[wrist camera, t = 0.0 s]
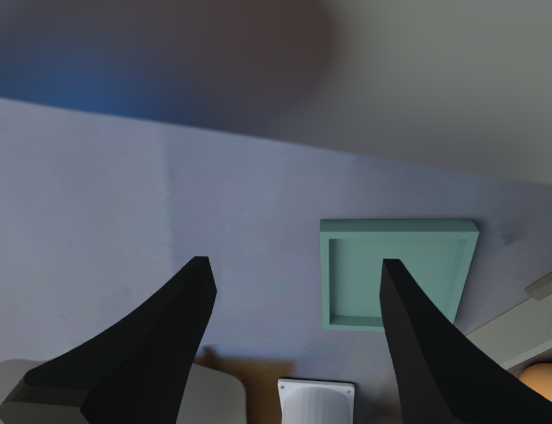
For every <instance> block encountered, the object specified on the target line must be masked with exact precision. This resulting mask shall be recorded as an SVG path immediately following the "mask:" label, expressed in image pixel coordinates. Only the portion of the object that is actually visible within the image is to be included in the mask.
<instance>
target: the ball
mask: <svg viewBox="0 0 552 424" xmlns="http://www.w3.org/2000/svg"><path fill="white" fill-rule="evenodd" d="M519 380H520V381H521V382H523V383H524V384H526V385H527V386H529V387H530V388H532V389H533V390H535V391H536V392H538V393H539V394H541V395H542V396H544V397H545V398H547V399H548V400H550V401H551V402H552V364H550V363H539V364H535V365H532V366H530V367H528V368H527V369H525V370H524V371H523V372H522V374H521V375H520V377H519Z"/></svg>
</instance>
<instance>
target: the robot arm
mask: <svg viewBox="0 0 552 424" xmlns="http://www.w3.org/2000/svg"><path fill="white" fill-rule="evenodd" d="M216 294H217V289H216V285H215V281H214V277H213V274H212V270H211V266H210V262H209V258H208V257H207V256H195V257H193V258H192V259H191V260H190V261H189V262H188V263H187V264H186V265H185V266H184V267H183V268H182V269H181V270H180V271H179V272H178V273H176V274H175V275H174V276H173V277H172V278H171V279H170V280H169V281H168V282H167V283H166V284H165V285H164V286H162V287H161V288H160V289H159V290H158V291H157V292H156V293H154V294H153V295H152V296H151V297H150V298H149V299H147V300H146V301H145V302H144V303H143V304H141V305H140V306H139V307H138V308H136V309H135V310H134V311H132V312H131V313H130V314H128V315H127V316H126V317H124V318H123V319H121V320H120V321H119V322H117V323H116V324H114V325H113V326H111V327H109V328H108V329H106V330H105V331H103V332H102V333H100V334H98V335H97V336H95V337H94V338H92V339H90V340H89V341H87V342H85V343H83V344H82V345H80V346H78V347H76V348H74V349H72V350H70V351H69V352H67V353H65V354H63V355H61V356H59V357H57V358H55V359H53V360H50V361H48V362H46V363H44V364H42V365H40V366H38V367H36V368H34V369H31V370H29V371H28V372H27V373H26V374H25V375H24V377H23V378H22V379H21V380H20V381H19V383H18V384H17V385H16V387H15V388H14V389H13V390H12V391H11V393H10V394H9V395H8V396H7V397H6V399H5V400H4V401H3V402H2V404H1V405H0V419H1V420H2V421H3V423H4V424H176V420H177V416H178V412H179V408H180V404H181V400H182V397H183V393H184V389H185V386H186V382H187V379H188V375H189V371H190V369H191V366H192V363H193V360H194V357H195V355H196V352H197V350H198V347H199V345H200V342H201V340H202V337H203V334H204V332H205V329H206V327H207V324H208V322H209V319H210V316H211V314H212V310H213V306H214V302H215V298H216ZM379 299H380V307H381V315H382V321H383V326H384V330H385V334H386V338H387V342H388V346H389V350H390V354H391V358H392V362H393V366H394V370H395V374H396V379H397V384H398V390H399V397H400V404H401V410H402V418H403V424H552V402H551V401H550V400H548V399H547V398H545V397H544V396H542V395H541V394H539V393H538V392H536V391H535V390H533V389H532V388H530V387H529V386H527V385H526V384H524V383H523V382H521V381H520V380H519V379H517V378H516V377H515V376H513V375H512V374H510V373H509V372H508V371H506V370H505V369H504V368H502V367H501V366H500V365H499V364H497V363H496V362H495V361H494V360H492V359H491V358H490V357H489V356H487V355H486V354H485V353H484V352H483V351H481V350H480V349H479V348H478V347H477V346H475V345H474V344H473V343H472V342H471V341H470V340H469V339H468V338H467V337H466V336H464V335H463V334H462V333H461V332H460V331H459V330H458V329H457V328H456V327H455V326H454V325H453V324H452V323H451V322H450V321H449V320H448V319H447V318H446V317H445V315H444V314H443V313H442V312H441V311H440V310H439V309H438V308H437V307H436V305H435V304H434V303H433V302H432V301H431V300H430V298H429V297H428V296H427V295H426V293H425V292H424V291H423V290H422V289H421V287H420V286H419V285H418V283H417V282H416V281H415V279H414V278H413V277H412V275H411V274H410V272H409V271H408V270H407V268H406V267H405V265H404V264H403V262H402V261H401V260H400V259H385V258H383V263H382V273H381V282H380V292H379ZM278 388H279V395H280V402H281V408H282V415H283V416H282V424H353V407H354V391H355V388H354V385H353V384H350V383H337V382H322V381H308V380H293V379H279V380H278Z"/></svg>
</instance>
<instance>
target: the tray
mask: <svg viewBox="0 0 552 424" xmlns="http://www.w3.org/2000/svg"><path fill="white" fill-rule="evenodd" d="M478 236H479V230H478V229H477V227H476V226H475V224H474V223H473V221H472V220H471V219H378V220H320V252H321V292H322V329H331V330H353V331H376V332H385V330H384V326H383V321H382V315H381V307H380V299H379V292H380V282H381V273H382V263H383V258H385V259H400V260H401V261H402V262H403V264H404V265H405V267H406V268H407V270H408V271H409V272H410V274H411V275H412V277H413V278H414V279H415V281H416V282H417V283H418V285H419V286H420V287H421V289H422V290H423V291H424V292H425V293H426V295H427V296H428V297H429V298H430V300H431V301H432V302H433V303H434V304H435V305H436V307H437V308H438V309H439V310H440V311H441V312H442V313H443V314H444V315H445V317H446V318H447V319H448V320H449V321H450V322H451V323H452V324H453V323H454V319H455V316H456V312H457V309H458V305H459V302H460V298H461V295H462V291H463V288H464V285H465V281H466V278H467V274H468V271H469V267H470V264H471V260H472V257H473V253H474V250H475V246H476V243H477V239H478Z"/></svg>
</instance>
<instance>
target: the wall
mask: <svg viewBox="0 0 552 424" xmlns="http://www.w3.org/2000/svg"><path fill="white" fill-rule="evenodd" d="M525 290H526V292H527V293H528V294H529V295H530V296H531V298H529V299H528V300H526V301H524V302H522V303H521V304H519V305H517V306H516V307H514V308H512V309H510V310H509V311H507V312H505V313H504V314H502V315H500V316H498V317H497V318H495V319H493V320H492V321H490V322H488V323H486V324H485V325H483V326H481V327H480V328H478V329H476V330H474V331H473V332H471V333H469V334H467V335H466V337H467V338H468V339H469V340H470V341H471V342H472V343H473V344H474V345H475V346H477V347H478V348H479V349H480V350H481V351H483V352H484V353H485V354H486V355H487V356H489V357H490V358H491V359H492V360H494V361H495V362H496V363H497V364H499V365H500V366H501V367H502V368H504V369H505V370H507V369H509V368H511V367H513V366H515V365H517V364H519V363H521V362H523V361H525V360H527V359H529V358H531V357H534V356H536V355H538V354H540V353H542V352H544V351H546V350H548V349H550V348H552V273H550V274H548V275H547V276H545V277H543V278H542V279H540V280H538V281H537V282H535V283H534V284H532V285H530V286H529V287H527V288H525Z"/></svg>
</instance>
